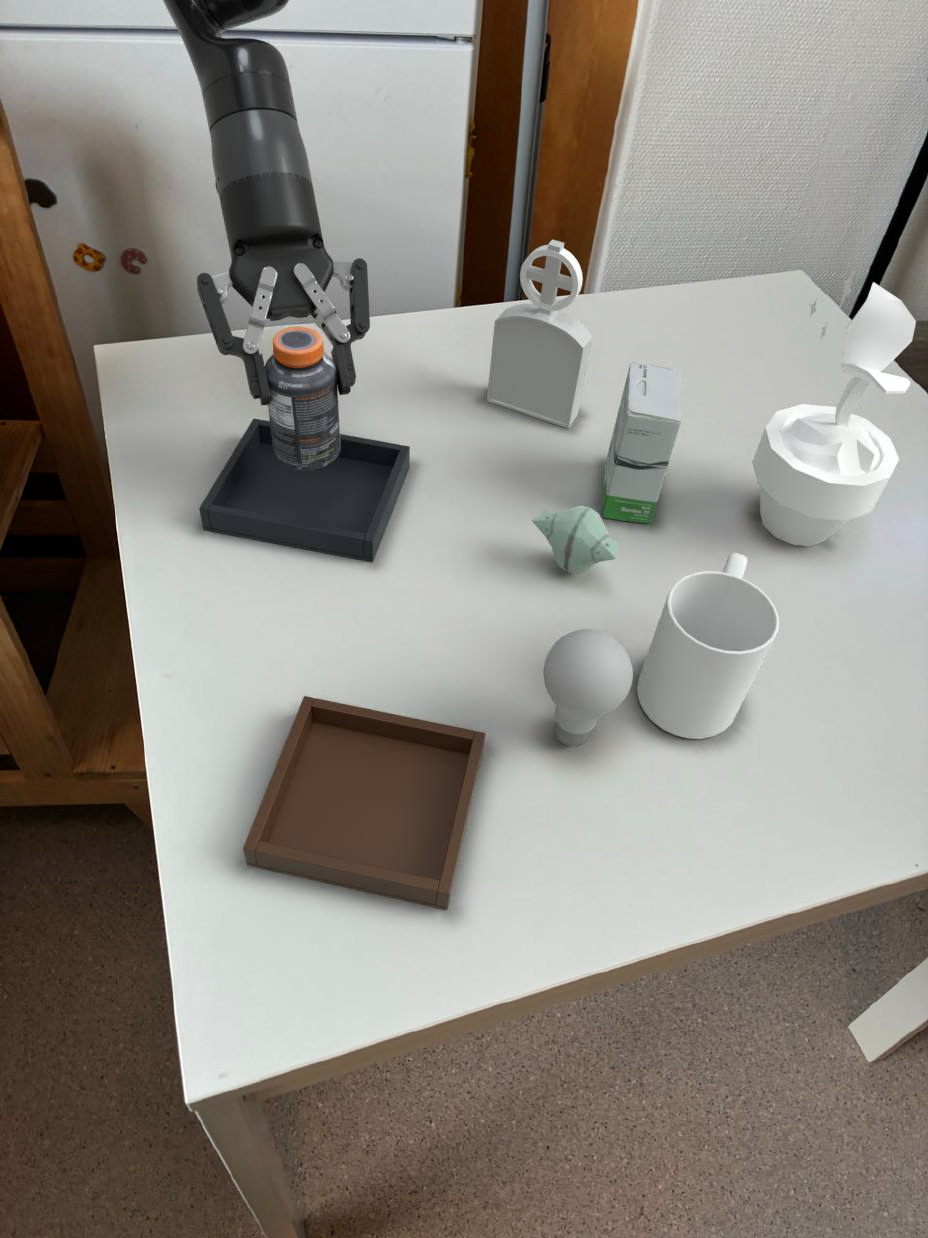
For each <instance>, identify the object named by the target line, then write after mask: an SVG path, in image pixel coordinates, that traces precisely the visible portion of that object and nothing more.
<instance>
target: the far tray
mask: <svg viewBox="0 0 928 1238" xmlns="http://www.w3.org/2000/svg"><path fill="white" fill-rule="evenodd" d="M340 446H341V449H340V453H339V455H338V456H337V458H336V459H335V460H334V461H333V462H331V463H330V464H328V465H326V466H324V467H321V468H318V469H313V470H300V469H294V468H291V467H288V466H286V465H284V464H283V463H281V462H280V461H279V460H278V459H277V458H276V456H275V454H274V451H273V443H272V435H271V427H270V420H265V419H260V418H253V419H252V420H251V422H250V423H249V425H248V427H247V429H246V430H245V432H244V433H243V435H242V437H241V438H240V440H239V441H238V444H237V445H236V446H235V448H234V450H233V451H232V453H231V455H230V456H229V458H228V460H227V461H226V463H225V465H224V466H223V467H222V470H221V471H220V473H219V475H218V476H217V478H216V480H215V481H214V483H213V484H212V486H211V488H210V489H209V491H208V493H207V494H206V495H205V497H204V499H203V501H202V503H201V504H200V506H199V507H198V510H199V515H200V520H201V525H202V530H203V531H208V532H211V533H216V534H217V533H218V534H223V535H228V536H233V537H238V538H243V539H247V540H248V539H249V540H253V541H259V542H263V543H264V542H265V543H270V544H275V545H278V546H279V545H280V546H285V547H291V548H296V549H301V550H306V551H311V552H316V553H322V554H327V555H333V556H338V557H343V558H347V559H353V560H358V561H363V562H367V563H369V562H370V563H374V560H375V558H376V556H377V552H378V550H379V548H380V545H381V542H382V540H383V538H384V534H385V532H386V530H387V527H388V524H389V521H390V519H391V516H392V514H393V511H394V509H395V506H396V504H397V501H398V498H399V495H400V493H401V491H402V488H403V485H404V483H405V481H406V477H407V475H408V472H409V470H410V459H411V456H410V454H411V446H409V445H406V444H405V445H404V444H400V443H399V444H398V443H394V442H388V441H381V440H376V439H372V438H365V437H360V436H355V435H349V434H344V433H343V434H342V433H340Z"/></svg>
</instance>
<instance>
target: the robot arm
mask: <svg viewBox="0 0 928 1238" xmlns="http://www.w3.org/2000/svg"><path fill="white" fill-rule="evenodd" d="M289 1H290V0H162V2H163V4H164V6H165V9H167V12H168V14H169V15H170V18H171V19H172V22H173V24H174V25H175V28H176V29H177V31H178V33H179V36H180V38H181V40H182V42H183V45H184V47H185V49H186V52H187V54H188V56H189V59H190V61H191V65H192V67H193V69H194V72H195V75H196V77H197V81H198V84H199V87H200V91H201V96H202V101H203V106H204V111H205V116H206V121H207V127H208V131H209V136H210V146H211V160H212V167H213V173H214V178H215V179H214V181H215V184H214V185H215V190H216V192H217V194H218V197H219V203H220V208H221V209H220V210H221V214H222V219H223V223H224V229H225V233H226V238H227V243H228V248H229V253H230V259H231V261H230V266H229V269H228V271H225V272H221V273H218V274H213V275H211V274H209V273H207V272H201V273H200V274H198V275H197V278H196V288H197V294H198V296H199V299H200V302H201V304H202V307H203V310H204V313H205V316H206V318H207V319H206V320H207V322H208V325H209V327H210V330H211V333H212V336H213V339H214V341H215V344H216V347H217V351H218V352H219V353H220V354H221V355H222V356H233V357H237V358H239V359H240V360H241V361H242V362H243V364H244V369H245V374H246V379H247V385H248V390H249V394H250V395H251V397H252V399H253V400H259V402H260V406H268V405H270V403H271V397H270V392H269V386H268V381H267V376H266V371H265V361H264V357H263V354H262V353H260V351H259V349H260V348H259V347H260V344H261V340H262V336H263V333H264V328H265V325H266V322H267V319H268V320H270V322H274V321H276V322H277V321H281V320H284V319H286V318H297V319H302V318H308V317H310V318H311V319H312V321H313V322H314V323H315V325H316V327H318V328H319V329H320V330H321V332H322V333H323V334H324V335H325V337H326V338H327V340H328V341H329V343H330V344H331V345H332V349H331V351H330V355H331V359H332V360H333V362H334V364H335V366H336V373H337V388H338V396H344V395H345V396H346V395H349V394H350V393H351V391H352V389H351V387H353V386H354V385H355V384H356V379H357V373H356V368H355V363H354V362H355V361H354V358H353V353H352V344H353V343H355V342H357V341H359V340H362V339H364V338H365V336H366V334H367V333H368V332H369V330H370V328H371V316H370V315H371V314H370V295H369V273H368V263H367V262H366V260H365V259H363V258H362V257H361V258H360V257H358V258H356V259H354V260H353V262H351V261H346V262H345V261H334V260H333V258H332V256H330V255H329V253H328V251H327V249H326V247H325V243H324V237H323V233H322V227H321V223H320V216H319V212H318V205H317V201H316V195H315V190H314V185H313V179H312V174H311V169H310V164H309V158H308V154H307V149H306V147H305V142H304V140H303V137H302V134H301V131H300V127H299V123H298V117H297V112H296V107H295V102H294V95H293V90H292V86H291V85H292V84H291V79H290V75H289V70H288V67H287V64H286V61H285V59H284V56H283V54H282V52H280V51H279V49H278V48H277V47H276V46H274V45H273V44H271V43H270V42H269V41H268V42H267V41H265V40H262V39H257V38H250V37H223V32H225V31H228V30H231V29H234V28H238V27H241V26H244V25H247V24H249V23H252V22H256V21H259V20H261V19H266V18H268V17H271V16H274V15H276V14H277V13H279V12H281V11H282V10H283V9H284V8H285V7H286V6H287V4H288V3H289ZM333 277H335V278H337V279H338V281H339V283H340V286H341V288H342V289H343V290H344V291H346V292H348V294H349V295H348V297H349V298H348V299H349V318H350V319H349V321H350V323H349V324H347V325H345V323H344V322H343V320H341V318H340V316H339V315H338V313H337V310H336V308H335V306H334V304H333V303H332V302H331V300H330V299H329V297H328V296H327V294H326V291H327V289H328V286H329V284H330V282H331V280H332V278H333ZM231 287H232V288H233V289H234V290H235V291H236V293H237V294H239V295H240V296H241V298H243V299H244V301H246V302H247V303H248V305H249V306H250V307H251V311H250V315H249V319H248V323H247V326H246V330H245V334H244V337H240V336H236V335H233V333H232V330H231V327H230V325H229V321H228V319H227V316H226V313H225V309H224V307H223V305H224V304H225V303H226V302H227V301H228V290H229V289H230V288H231Z"/></svg>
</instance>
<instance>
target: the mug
mask: <svg viewBox="0 0 928 1238" xmlns="http://www.w3.org/2000/svg"><path fill="white" fill-rule="evenodd" d="M748 562H749V561H748V557H746V555H743V554H740V553H737V552H730V553H729V555H728V557H727V559H726V561H725V563H724V567H723V568H722V571H714V570H713V571H712V570H704V571H696V572H692V573H690V574H687V575H685V576H682V577H681V578H680V579H678V580H677V581H676V582H674V584H672V586H671V587H670V590H669V591H668V593H667V597H666V598H665V602H664V605H663V608H662V611H661V614H660V616H659V619H658V622H657V626H656V629H655V632H654V634H653V637H652V640H651V643H650V645H649V647H648V648H649V649H648V651H647V654H646V656H645V661H644V663H643V666H642V669H641V672H640V674H639V677H638V681H637V688H636V692H637V698H638V702H639V704H640V707H641V709H642V710H643V712H644V714H645V715H646V716H647V717H648V718H649V719H650V721H651V722H652V723H654V724H655V725H656V726H658V727H659V728H660V729H661V730H663V731H665V732H668V733H669V734H672V735H674V736H676V737H681V738H684V739H691V740H692V739H693V740H702V739H707V738H713V737H715V736H717V735H719V734H721V733H724V732H725V731H726V730H727V729H728V728H729V727H730V726H731V725H732V724H733V722H734V720H735V718H736V716H737V715H738V712H739V710H740V708H741V707H742V704H743V702H744V700H745V698H746V696H747V694H748V692H749V690H750V688H751V686H752V684H753V682H754V680H755V678H756V676H757V674H758V672H759V671H760V668H761V666H762V664H763V663H764V660H765V658H766V656H767V654H768V653H769V650H770V648H771V646H772V644H773V642H774V640H775V638H776V636H777V634H778V632H779V629H780V618H779V615H778V611H777V607H776V605H774V603H773V602H772V600H771V598H770V597H769V596H768V595H767V594H766V593H765V592H764V591H763V590H762V589H761V588H759V587H758V586H756V585H755V584H753V583H752V582H750V581H749V580H746V579H744V578H743V577H744V574H745V572H746V568H747V564H748Z"/></svg>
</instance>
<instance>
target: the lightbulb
mask: <svg viewBox="0 0 928 1238" xmlns="http://www.w3.org/2000/svg"><path fill="white" fill-rule="evenodd" d="M542 671H543V672H542V674H543V680H544V681H543V682H544V686H545V689H546V691H547V694H548V695H549V697H550V699H551V700H552V702H553V703H554V704H555V705H554V707H555V709H554V717H555V726H554V733H555V736H556V738H557V740H558V741H559V742H560V743H562V744H564V745H566V746H568V747H569V746H570V747H579V746H581V745H583V744H585V742H586V741H587V740H588V738H589V735H590V733H591V731H592V730H593V729H594V728H595V727H596V724H597V723H598V721H599V719H600V718H601V717H603V716H606V715H607V714H609V713H611V712H614V710H616V709H617V708H619V706H620V705H621V704H622V703H623V702H624V701H625V699H626V698H627V697H628V695H629V693H630V690H631V689H632V685H633V676H634V675H633V672H634V667H633V665H632V660H631V657H630V655H629V653H628V651H627V650H626V648H625V647H624V646H623V644H622V643H621V642H620V641H619V640H618V639H617V638H616V637H614V636H612V635H611V634H609V633H607V632H605V631H602V630H599V629H593V628H585V629H577V630H574V631H571V632H568V633H566V634H564V635H563V636H561V637H560V638H559V639H558V640H557V641H555V643H554V644H553V645H552V646H551V648H550V649H549V651H548V652H547V654H546V657H545V660H544V663H543V670H542Z"/></svg>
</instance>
